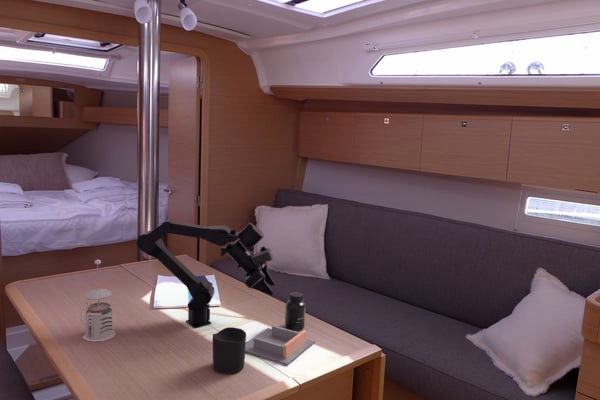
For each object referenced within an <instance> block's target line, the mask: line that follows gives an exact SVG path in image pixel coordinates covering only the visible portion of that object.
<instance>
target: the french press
mask: <svg viewBox="0 0 600 400" xmlns="http://www.w3.org/2000/svg"><path fill="white" fill-rule="evenodd" d="M101 263H102V261H101V260H100V259H95V260H94V265H97V266H96V267H97V268H96V269H97V272H99V265H100V264H101ZM112 295H113V292H112V291H111V290H109V289H105V288H100V287H99V283H97V288H94V289H91V290H89V291H87V292H86V293H84V295H83V297H85V299H87V300H88V301H89V300H90V301H97V302H95V303H92V302H91V303H88V302H85V303H84V304H83V305H82V308H81V310H80V314H79V315H80V322H81V323H82V325H84V326H85V333H84V334H85V335H84V334H83V335H84V336H85V338H87V339H89V340H103V339H107V338H110V337H112V336H113V335H114V332H115V330H113V308H111V306H112V305H111V304H110V303H108V302H102V301H101V302H100V300H104V299H107V298H110V297H111V296H112ZM85 306H86V309H85V312H84V321H85V323H84V321H83V317H82V312H83V309H84V307H85ZM95 314H98V315H95Z"/></svg>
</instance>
